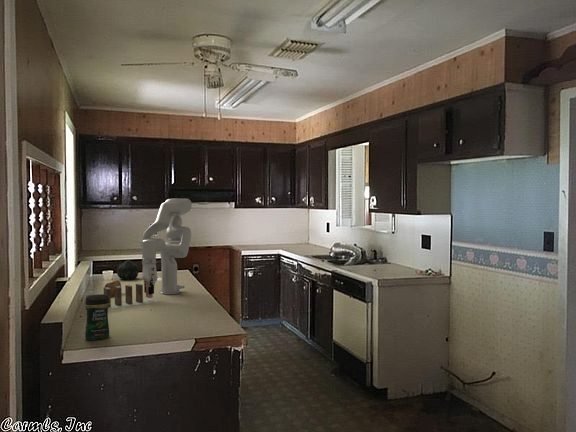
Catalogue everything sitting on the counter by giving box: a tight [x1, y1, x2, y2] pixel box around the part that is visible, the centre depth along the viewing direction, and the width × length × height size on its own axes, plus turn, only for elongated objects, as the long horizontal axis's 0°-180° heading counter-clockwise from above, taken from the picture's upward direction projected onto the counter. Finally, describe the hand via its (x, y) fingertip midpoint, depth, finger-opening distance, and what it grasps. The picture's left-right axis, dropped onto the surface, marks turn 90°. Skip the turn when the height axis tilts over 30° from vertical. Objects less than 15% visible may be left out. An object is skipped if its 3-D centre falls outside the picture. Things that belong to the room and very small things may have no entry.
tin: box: [103, 280, 122, 297], centre depth 297 cm, size 15×3×8 cm, turn 168°
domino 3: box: [124, 284, 133, 304], centre depth 272 cm, size 2×5×10 cm, turn 39°
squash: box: [116, 259, 139, 281], centre depth 354 cm, size 14×15×15 cm
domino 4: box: [135, 283, 144, 303], centre depth 276 cm, size 2×5×10 cm, turn 39°
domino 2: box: [114, 286, 123, 306], centre depth 268 cm, size 2×5×10 cm, turn 39°
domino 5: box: [145, 280, 154, 299], centre depth 279 cm, size 2×5×10 cm, turn 39°
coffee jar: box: [84, 293, 110, 341], centre depth 207 cm, size 10×8×19 cm
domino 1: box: [103, 286, 112, 307], centre depth 264 cm, size 2×5×10 cm, turn 39°
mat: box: [108, 297, 160, 310], centre depth 271 cm, size 32×12×1 cm, turn 129°
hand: (149, 292), depth 279 cm, fingers closed on domino 5, 4 cm apart
